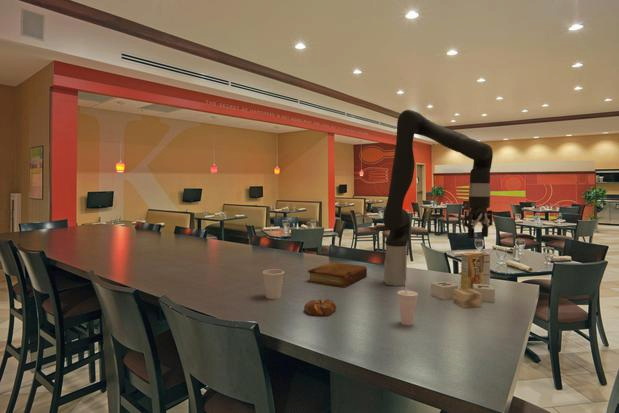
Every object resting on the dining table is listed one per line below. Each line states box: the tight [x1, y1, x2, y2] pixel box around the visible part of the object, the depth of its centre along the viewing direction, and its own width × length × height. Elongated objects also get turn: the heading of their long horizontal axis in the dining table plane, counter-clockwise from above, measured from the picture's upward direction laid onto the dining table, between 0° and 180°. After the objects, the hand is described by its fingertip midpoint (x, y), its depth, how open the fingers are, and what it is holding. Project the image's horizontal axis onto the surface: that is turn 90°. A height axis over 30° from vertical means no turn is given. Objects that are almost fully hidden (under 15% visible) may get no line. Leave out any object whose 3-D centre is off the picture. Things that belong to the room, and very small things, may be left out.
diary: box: [307, 261, 368, 289], centre depth 177 cm, size 23×19×6 cm
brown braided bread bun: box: [303, 298, 337, 317], centre depth 132 cm, size 12×11×4 cm
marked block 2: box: [473, 284, 496, 303], centre depth 148 cm, size 7×7×5 cm
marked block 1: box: [430, 281, 459, 301], centre depth 151 cm, size 7×7×5 cm
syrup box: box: [473, 250, 491, 285], centre depth 169 cm, size 6×6×14 cm
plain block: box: [453, 288, 483, 309], centre depth 141 cm, size 7×7×5 cm
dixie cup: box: [262, 268, 285, 300], centre depth 148 cm, size 8×8×10 cm
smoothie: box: [397, 278, 419, 326], centre depth 121 cm, size 6×6×14 cm
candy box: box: [459, 252, 484, 289], centre depth 160 cm, size 9×4×15 cm, turn 116°
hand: (477, 237), depth 147 cm, fingers open, 8 cm apart
